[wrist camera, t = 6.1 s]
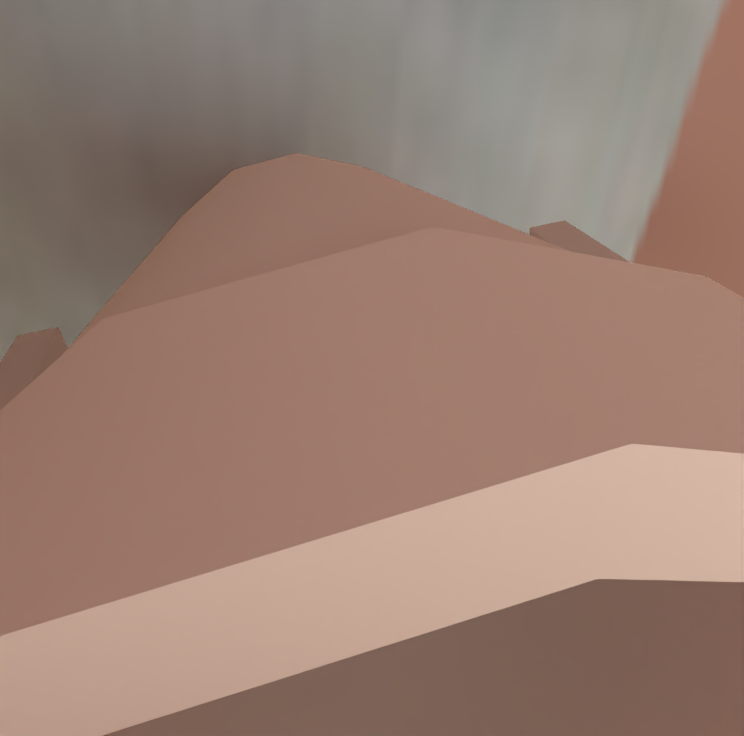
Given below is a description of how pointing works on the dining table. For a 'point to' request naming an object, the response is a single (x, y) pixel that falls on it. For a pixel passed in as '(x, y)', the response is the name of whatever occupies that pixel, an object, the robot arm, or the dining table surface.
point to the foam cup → (377, 483)
